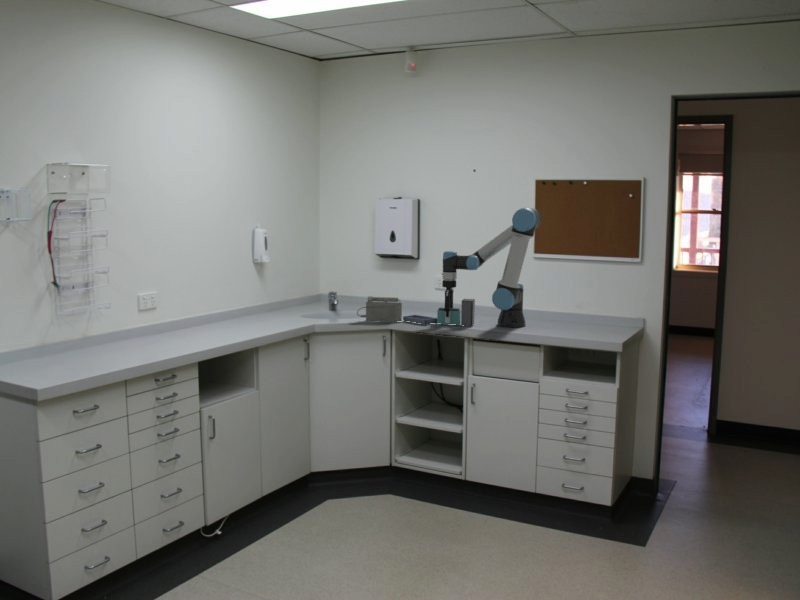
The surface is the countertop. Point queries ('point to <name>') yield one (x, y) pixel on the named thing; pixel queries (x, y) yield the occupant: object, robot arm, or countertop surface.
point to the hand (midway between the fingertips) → (448, 321)
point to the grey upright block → (467, 312)
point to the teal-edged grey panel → (454, 316)
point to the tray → (420, 319)
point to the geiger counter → (383, 309)
